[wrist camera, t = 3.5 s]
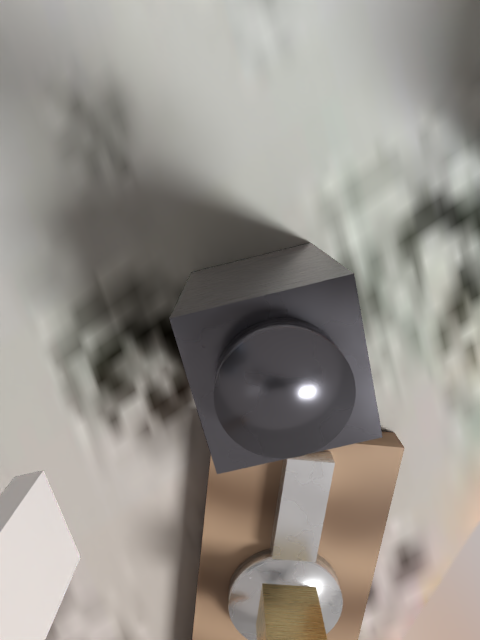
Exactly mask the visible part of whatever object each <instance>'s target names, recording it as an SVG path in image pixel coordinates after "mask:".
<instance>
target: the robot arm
mask: <svg viewBox="0 0 480 640" xmlns="http://www.w3.org/2000/svg"><path fill="white" fill-rule="evenodd" d="M80 558H81V557H80V554H79V552H78V550H77V547H76V545H75V543H74V540H73V538H72V536H71V533H70V531H69V529H68V526H67V524H66V522H65V519H64V517H63V515H62V512H61V510H60V508H59V505H58V503H57V501H56V498H55V496H54V494H53V491H52V489H51V487H50V484H49V482H48V480H47V477H46V475H45V473H44V470H42V471H38V472H33V473H29V474H24V475H20V476H15V477H14V478H13V479H12V481H11V482H10V483H9V485H8V486H7V487H6V488H5V490H4V491H3V492H2V494H1V495H0V640H45V639H46V637H47V634H48V632H49V630H50V627H51V625H52V623H53V620H54V618H55V616H56V613H57V611H58V609H59V606H60V604H61V602H62V599H63V597H64V595H65V592H66V590H67V588H68V586H69V583H70V581H71V579H72V576H73V574H74V572H75V569H76V567H77V565H78V562H79V560H80Z"/></svg>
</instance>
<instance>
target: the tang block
mask: <svg viewBox="0 0 480 640" xmlns="http://www.w3.org/2000/svg"><path fill="white" fill-rule="evenodd" d="M403 451H404V447H403V445H402V443H401V442H400V440H399V439H398V437H397V436H396V434H395V433H393V432H382V438H378V439H373V440H369V441H364V442H360V443H355V444H351V445H346V446H342V447H337V448H333V449H328V450H324V451H319V452H315V453H310V454H307V455H304V456H300V457H295V458H288V459H284V460H279V461H275V462H270V463H266V464H261V465H257V466H252V467H248V468H243V469H239V470H234V471H230V472H225V473H221V474H217V473H216V469H215V466H214V463H213V460H212V456H211V455H210V465H209V475H208V485H207V495H206V505H205V514H204V524H203V534H202V544H201V554H200V564H199V574H198V584H197V593H196V603H195V613H194V623H193V633H192V640H358V637H359V633H360V629H361V625H362V620H363V616H364V612H365V608H366V604H367V600H368V596H369V592H370V587H371V583H372V579H373V575H374V571H375V567H376V563H377V559H378V554H379V550H380V546H381V542H382V538H383V534H384V530H385V526H386V521H387V517H388V513H389V509H390V505H391V501H392V497H393V493H394V488H395V484H396V480H397V476H398V472H399V468H400V464H401V460H402V455H403Z"/></svg>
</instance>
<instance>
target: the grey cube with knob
mask: <svg viewBox="0 0 480 640" xmlns="http://www.w3.org/2000/svg"><path fill="white" fill-rule="evenodd" d="M169 319H170V323H171V326H172V329H173V332H174V336H175V339H176V342H177V345H178V349H179V352H180V355H181V358H182V362H183V365H184V368H185V372H186V375H187V378H188V381H189V385H190V388H191V391H192V394H193V398H194V401H195V404H196V407H197V411H198V414H199V417H200V421H201V424H202V427H203V430H204V434H205V437H206V440H207V443H208V447H209V450H210V453H211V456H212V460H213V463H214V466H215V469H216V473H217V474H221V473H225V472H230V471H234V470H239V469H243V468H248V467H252V466H257V465H261V464H266V463H270V462H275V461H279V460H284V459H288V458H295V457H300V456H304V455H307V454H310V453H315V452H319V451H324V450H328V449H333V448H337V447H342V446H346V445H351V444H355V443H360V442H364V441H369V440H373V439H378V438H382V431H381V426H380V420H379V414H378V409H377V403H376V397H375V391H374V386H373V380H372V374H371V368H370V363H369V357H368V351H367V346H366V340H365V334H364V328H363V323H362V317H361V311H360V306H359V300H358V294H357V288H356V283H355V277H354V273H353V272H351V271H350V270H348V269H347V268H346V267H344V266H343V265H341V264H340V263H339V262H337V261H336V260H334V259H333V258H332V257H330V256H329V255H327V254H326V253H324V252H323V251H322V250H320V249H319V248H317V247H316V246H315V245H313V244H312V243H307V244H303V245H299V246H295V247H291V248H287V249H283V250H279V251H275V252H271V253H267V254H263V255H259V256H255V257H251V258H247V259H243V260H239V261H235V262H231V263H227V264H223V265H219V266H215V267H211V268H207V269H203V270H199V271H195V272H191V274H190V276H189V278H188V280H187V282H186V285H185V287H184V289H183V291H182V293H181V295H180V297H179V299H178V301H177V303H176V305H175V308H174V310H173V312H172V314H171V316H170V318H169Z"/></svg>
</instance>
